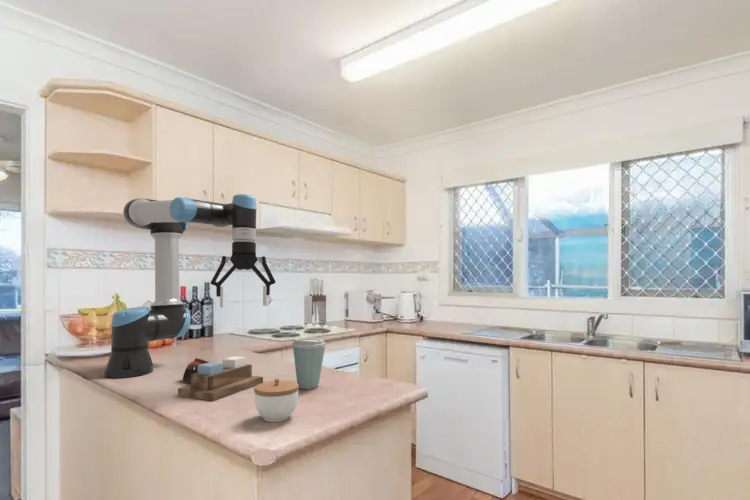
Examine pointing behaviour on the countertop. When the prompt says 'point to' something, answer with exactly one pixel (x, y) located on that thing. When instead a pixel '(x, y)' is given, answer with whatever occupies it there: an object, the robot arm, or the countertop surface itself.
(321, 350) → the disposable coffee cup
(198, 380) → the wooden stepped stand
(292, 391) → the lidded jar
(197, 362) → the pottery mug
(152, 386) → the countertop surface
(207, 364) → the light blue block
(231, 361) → the white block
